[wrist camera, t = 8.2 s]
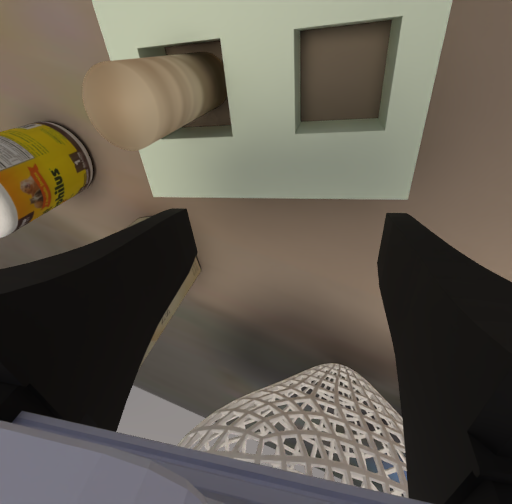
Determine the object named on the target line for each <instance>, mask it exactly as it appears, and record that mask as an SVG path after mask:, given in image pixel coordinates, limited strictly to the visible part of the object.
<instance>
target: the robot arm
mask: <svg viewBox="0 0 512 504" xmlns="http://www.w3.org/2000/svg"><path fill="white" fill-rule="evenodd" d="M196 255H197V248H196V244H195V240H194V237H193V233H192V229H191V225H190V221H189V217H188V213H187V209H169V210H166V211H163V212H161V213H158V214H156V215H154V216H152V217H149V218H147V219H145V220H143V221H141V222H139V223H136V224H134V225H132V226H130V227H128V228H126V229H124V230H121V231H119V232H117V233H114V234H112V235H110V236H107V237H105V238H103V239H101V240H98V241H96V242H93V243H91V244H88V245H85V246H83V247H80V248H77V249H74V250H71V251H68V252H65V253H62V254H58V255H55V256H51V257H48V258H44V259H41V260H37V261H34V262H30V263H26V264H22V265H18V266H14V267H9V268H5V269H0V504H512V282H510V281H508V280H506V279H505V278H503V277H501V276H499V275H497V274H495V273H493V272H492V271H490V270H488V269H486V268H484V267H483V266H481V265H479V264H478V263H476V262H474V261H473V260H471V259H470V258H468V257H467V256H465V255H464V254H462V253H460V252H459V251H457V250H456V249H455V248H453V247H452V246H450V245H449V244H447V243H446V242H445V241H443V240H442V239H441V238H439V237H438V236H436V235H435V234H434V233H433V232H431V231H430V230H429V229H427V228H426V227H425V226H423V225H422V224H421V223H420V222H418V221H417V220H416V219H414V218H413V217H412V216H410V215H409V214H407V213H386V219H385V224H384V230H383V235H382V240H381V246H380V251H379V257H378V262H377V264H378V277H379V287H380V291H381V296H382V300H383V304H384V308H385V313H386V317H387V321H388V325H389V329H390V333H391V337H392V342H393V346H394V352H395V358H396V366H397V374H398V382H399V391H400V401H401V410H402V420H403V431H404V443H405V454H406V468H407V482H408V496H409V498H406V497H401V496H397V495H392V494H388V493H384V492H379V491H375V490H370V489H366V488H361V487H357V486H353V485H348V484H344V483H339V482H335V481H330V480H326V479H322V478H317V477H313V476H308V475H304V474H299V473H295V472H291V471H286V470H282V469H277V468H273V467H268V466H264V465H260V464H255V463H251V462H246V461H242V460H238V459H233V458H229V457H224V456H220V455H215V454H211V453H207V452H202V451H198V450H193V449H189V448H184V447H180V446H175V445H171V444H167V443H162V442H158V441H154V440H149V439H145V438H140V437H136V436H131V435H127V434H122V433H118V432H116V431H117V428H118V425H119V422H120V419H121V416H122V413H123V410H124V407H125V404H126V401H127V398H128V396H129V393H130V390H131V388H132V385H133V382H134V380H135V377H136V374H137V372H138V369H139V367H140V365H141V362H142V360H143V358H144V355H145V353H146V350H147V348H148V346H149V344H150V342H151V339H152V337H153V335H154V333H155V331H156V329H157V326H158V325H159V323H160V321H161V319H162V317H163V316H164V314H165V312H166V311H167V309H168V307H169V306H170V304H171V302H172V301H173V299H174V297H175V296H176V294H177V293H178V291H179V289H180V288H181V286H182V284H183V283H184V281H185V279H186V277H187V276H188V274H189V272H190V270H191V267H192V265H193V263H194V260H195V257H196Z"/></svg>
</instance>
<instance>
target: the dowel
mask: <svg viewBox="0 0 512 504" xmlns="http://www.w3.org/2000/svg"><path fill="white" fill-rule="evenodd" d="M82 96H83V102H84V107H85V109H86V112H87V115H88V117H89V119H90V121H91V122H92V124H93V126H94V127H95V128H96V130H97V131H98V132H99V133H100V134H101V135H102V136H103V137H104V138H105V139H106V140H107V141H108V142H110V143H111V144H113V145H115V146H116V147H119V148H121V149H124V150H129V151H136V150H141V149H143V148H145V147H147V146H149V145H151V144H152V143H154V142H156V141H158V140H159V139H161V138H163V137H165V136H166V135H168V134H170V133H172V132H174V131H175V130H177V129H179V128H181V127H182V126H184V125H186V124H188V123H189V122H191V121H193V120H195V119H197V118H198V117H200V116H202V115H204V114H205V113H207V112H209V111H211V110H212V109H214V108H216V107H218V106H219V105H221V104H222V103H223V102H224V101H225V99H226V98H227V87H226V80H225V72H224V64H223V62H222V61H221V60H220V59H219V58H218V57H216V56H215V55H213V54H211V53H208V52H197V53H187V54H177V55H166V56H156V57H146V58H135V59H125V60H114V61H104V62H100V63H97V64H95V65H94V66H92V67H91V68H90V69H89V70H88V72H87V74H86V76H85V78H84V81H83V87H82Z"/></svg>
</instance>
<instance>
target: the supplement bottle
mask: <svg viewBox="0 0 512 504" xmlns="http://www.w3.org/2000/svg"><path fill="white" fill-rule="evenodd" d="M92 176H93V167H92V162H91V159H90V157H89V154H88V152H87V151H86V149H85V147H84V146H83V144H82V143H81V142H80V141H79V140H78V139H77V138H76V137H75V136H74V135H73V134H72V133H71V132H69V131H68V130H67V129H65V128H63V127H61V126H59V125H57V124H54V123H50V122H37V123H33V124H29V125H25V126H21V127H17V128H14V129H10V130H6V131H2V132H0V238H1V237H5V236H7V235H9V234H11V233H13V232H14V231H16V230H17V229H19V228H21V227H22V226H24V225H26V224H28V223H29V222H31V221H32V220H34V219H36V218H38V217H39V216H41V215H43V214H44V213H46V212H48V211H49V210H51V209H53V208H55V207H56V206H58V205H60V204H61V203H63V202H65V201H66V200H68V199H70V198H71V197H73V196H75V195H76V194H78V193H80V192H81V191H83V190H84V189H86V188H87V187H88V186H89V184H90V182H91V180H92Z"/></svg>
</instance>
